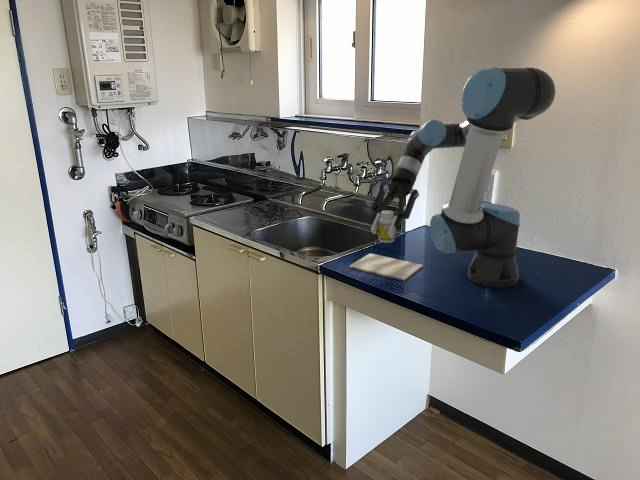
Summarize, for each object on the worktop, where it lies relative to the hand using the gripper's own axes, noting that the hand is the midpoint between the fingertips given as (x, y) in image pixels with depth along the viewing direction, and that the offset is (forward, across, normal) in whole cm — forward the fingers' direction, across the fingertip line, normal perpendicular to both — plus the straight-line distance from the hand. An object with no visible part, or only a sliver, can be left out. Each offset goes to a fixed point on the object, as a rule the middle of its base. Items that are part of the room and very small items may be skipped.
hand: (381, 233), depth 164 cm
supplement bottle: (0, 0, -5) cm, 5 cm away
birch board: (+7, 0, -11) cm, 13 cm away
